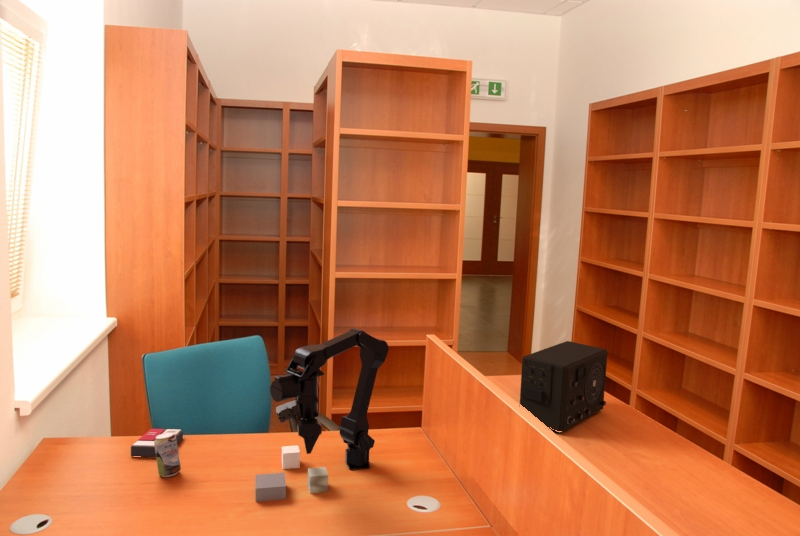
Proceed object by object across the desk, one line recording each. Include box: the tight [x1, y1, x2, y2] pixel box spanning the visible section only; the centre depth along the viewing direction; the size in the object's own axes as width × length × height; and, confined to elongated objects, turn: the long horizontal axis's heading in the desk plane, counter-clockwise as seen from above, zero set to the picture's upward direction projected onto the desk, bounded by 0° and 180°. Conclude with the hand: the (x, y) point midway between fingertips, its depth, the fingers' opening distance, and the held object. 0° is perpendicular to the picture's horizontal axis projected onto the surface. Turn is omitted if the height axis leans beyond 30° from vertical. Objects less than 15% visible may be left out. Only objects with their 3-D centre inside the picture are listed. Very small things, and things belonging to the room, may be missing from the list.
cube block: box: [307, 466, 329, 494], centre depth 171 cm, size 5×5×5 cm
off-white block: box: [281, 445, 301, 470], centre depth 185 cm, size 5×5×5 cm
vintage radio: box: [519, 340, 608, 432], centre depth 229 cm, size 38×20×25 cm, turn 138°
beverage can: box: [154, 432, 182, 478], centre depth 176 cm, size 6×7×12 cm
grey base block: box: [254, 472, 287, 503], centre depth 168 cm, size 8×8×4 cm
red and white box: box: [130, 428, 184, 457], centre depth 194 cm, size 11×4×15 cm
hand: (307, 446), depth 172 cm, fingers open, 9 cm apart
